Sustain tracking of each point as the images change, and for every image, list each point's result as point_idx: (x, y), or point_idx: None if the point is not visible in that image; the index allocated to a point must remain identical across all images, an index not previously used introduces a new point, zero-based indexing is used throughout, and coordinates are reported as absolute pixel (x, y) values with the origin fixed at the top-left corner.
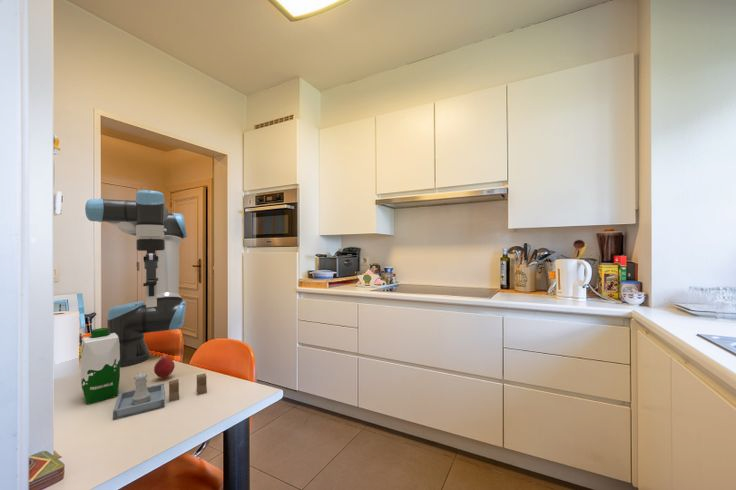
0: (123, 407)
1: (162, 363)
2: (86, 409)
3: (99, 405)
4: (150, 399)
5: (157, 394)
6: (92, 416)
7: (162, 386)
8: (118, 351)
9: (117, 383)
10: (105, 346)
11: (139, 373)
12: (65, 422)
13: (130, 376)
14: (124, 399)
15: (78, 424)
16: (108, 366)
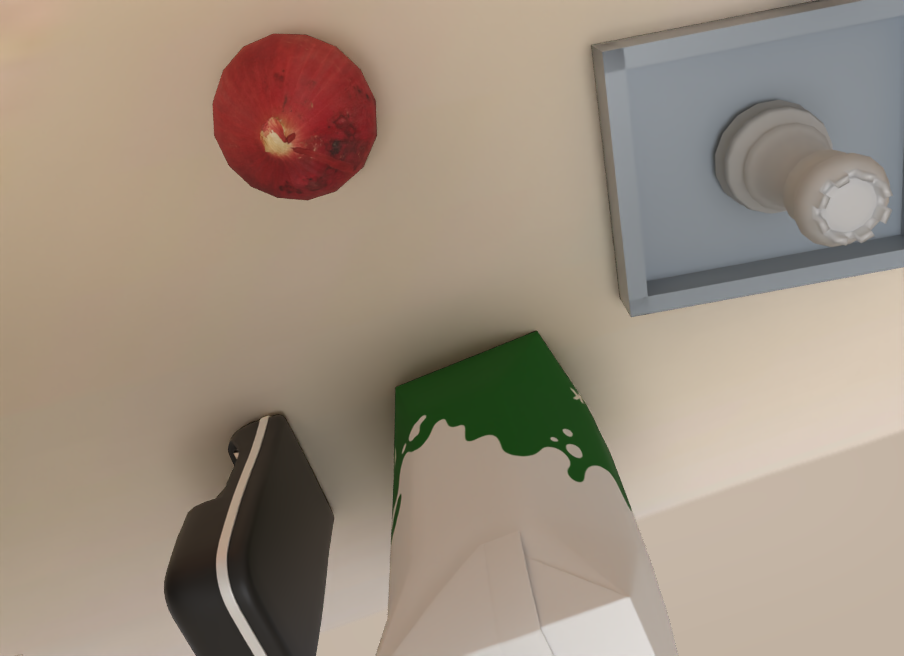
0: (797, 235)
1: (351, 134)
2: (656, 425)
3: (633, 381)
4: (762, 100)
5: (694, 72)
6: (781, 363)
7: (666, 51)
8: (544, 506)
9: (532, 370)
10: (658, 618)
11: (824, 223)
12: (778, 457)
13: (152, 364)
14: (659, 267)
15: (846, 392)
16: (618, 483)
